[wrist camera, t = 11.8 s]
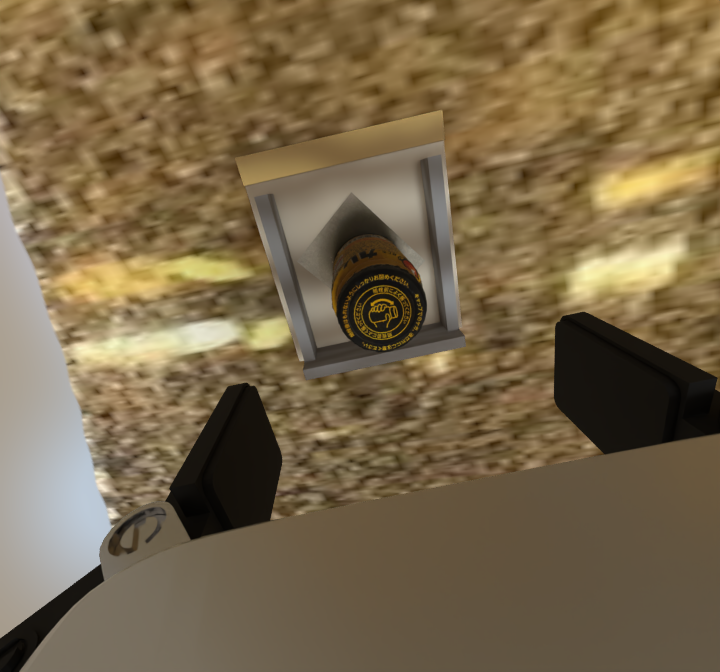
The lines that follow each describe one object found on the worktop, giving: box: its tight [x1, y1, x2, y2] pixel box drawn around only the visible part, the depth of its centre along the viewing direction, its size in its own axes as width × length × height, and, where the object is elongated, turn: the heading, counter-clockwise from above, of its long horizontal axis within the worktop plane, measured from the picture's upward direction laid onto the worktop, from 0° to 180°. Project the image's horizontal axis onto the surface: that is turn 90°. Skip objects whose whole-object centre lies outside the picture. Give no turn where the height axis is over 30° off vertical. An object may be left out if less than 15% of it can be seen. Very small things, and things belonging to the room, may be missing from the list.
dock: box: [235, 110, 466, 380], centre depth 29 cm, size 18×16×7 cm
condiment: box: [297, 192, 427, 353], centre depth 25 cm, size 7×8×12 cm
